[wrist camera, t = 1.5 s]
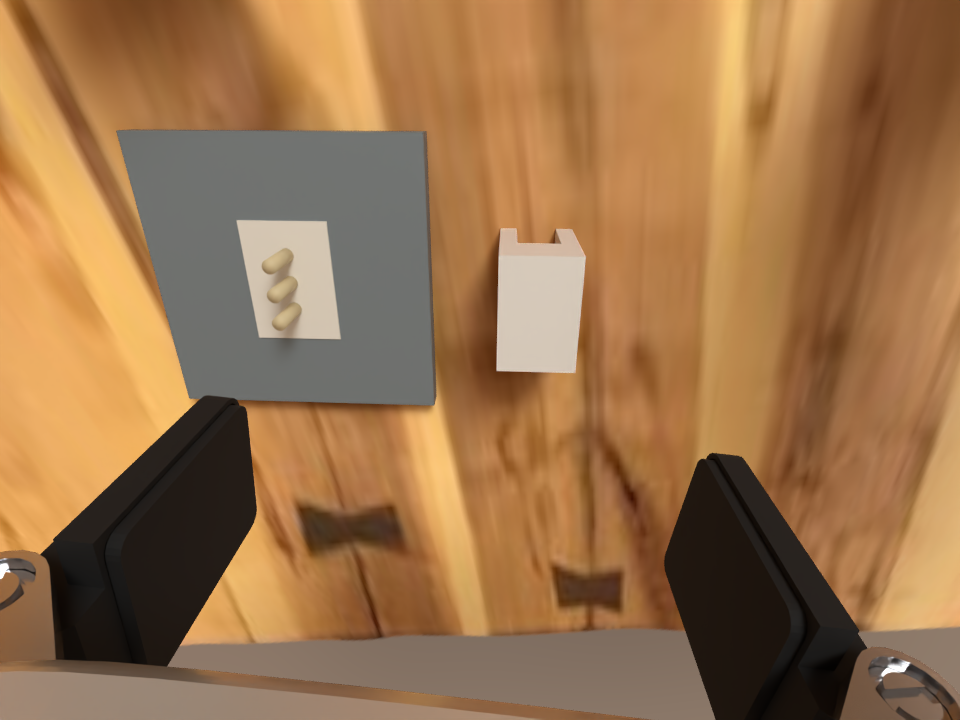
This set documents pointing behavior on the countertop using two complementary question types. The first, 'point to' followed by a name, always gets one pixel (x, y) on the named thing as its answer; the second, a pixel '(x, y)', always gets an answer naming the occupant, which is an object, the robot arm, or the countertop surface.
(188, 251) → the pin board
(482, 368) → the countertop surface
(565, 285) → the plug housing
